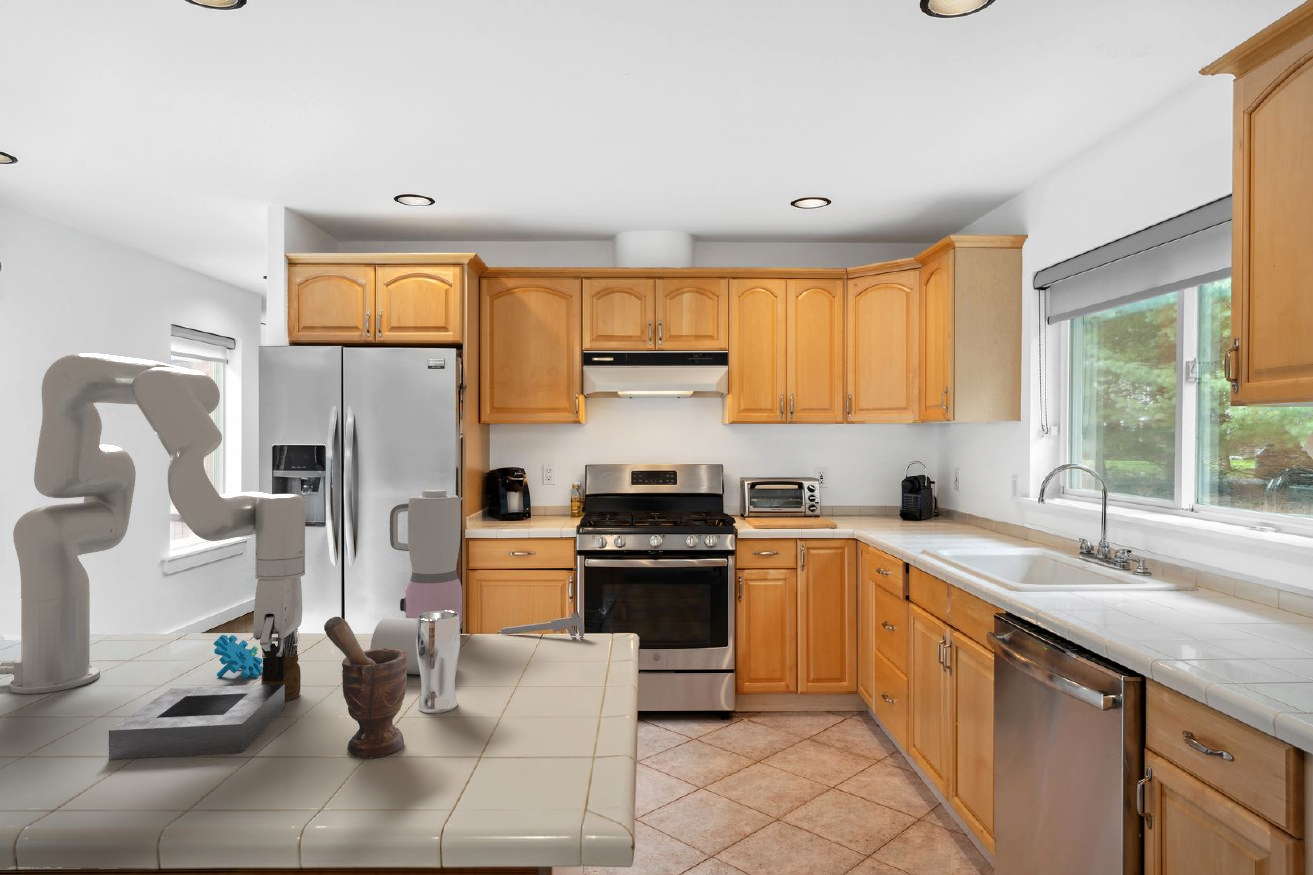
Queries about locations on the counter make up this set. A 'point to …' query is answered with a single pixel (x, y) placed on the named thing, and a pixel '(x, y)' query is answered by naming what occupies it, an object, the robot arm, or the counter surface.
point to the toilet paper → (398, 639)
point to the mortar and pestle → (370, 691)
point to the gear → (237, 657)
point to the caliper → (551, 626)
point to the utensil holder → (289, 674)
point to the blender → (431, 552)
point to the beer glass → (437, 659)
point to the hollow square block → (197, 721)
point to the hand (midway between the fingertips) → (280, 673)
